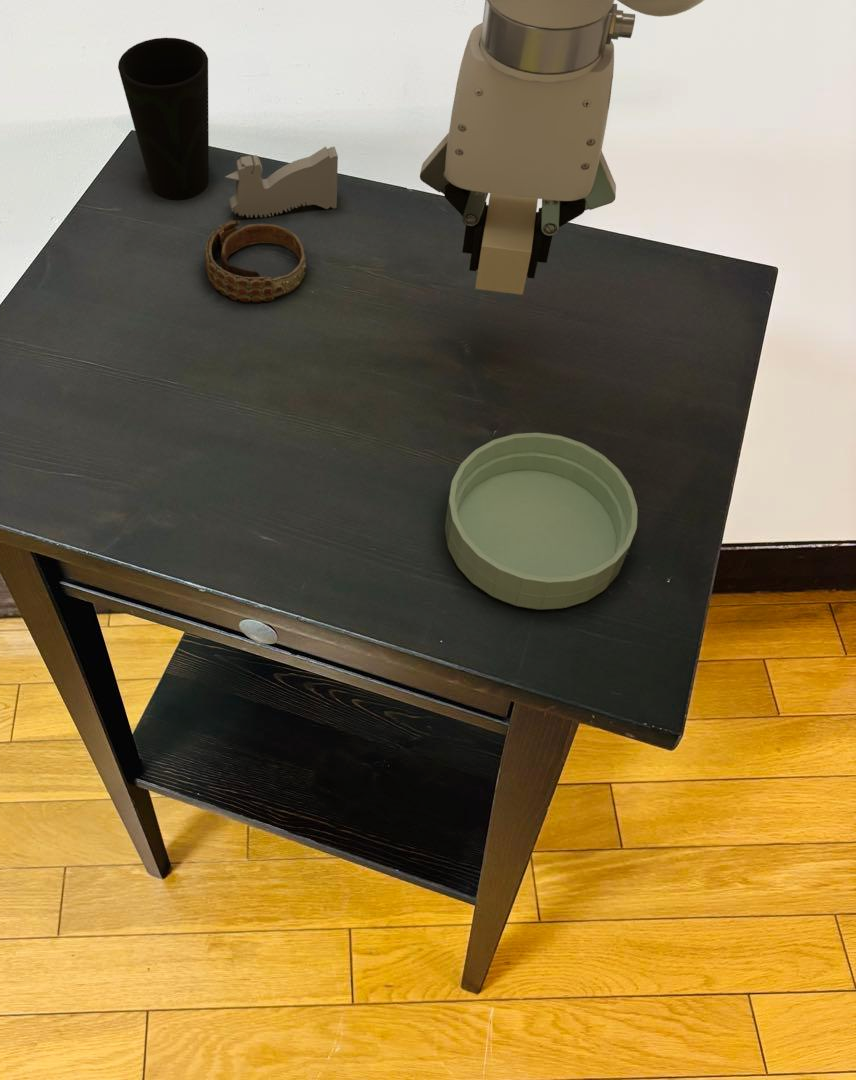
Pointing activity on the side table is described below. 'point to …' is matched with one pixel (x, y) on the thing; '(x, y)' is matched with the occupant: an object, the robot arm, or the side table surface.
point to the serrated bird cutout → (285, 185)
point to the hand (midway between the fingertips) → (503, 260)
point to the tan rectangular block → (506, 243)
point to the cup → (169, 113)
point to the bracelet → (246, 281)
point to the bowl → (540, 520)
